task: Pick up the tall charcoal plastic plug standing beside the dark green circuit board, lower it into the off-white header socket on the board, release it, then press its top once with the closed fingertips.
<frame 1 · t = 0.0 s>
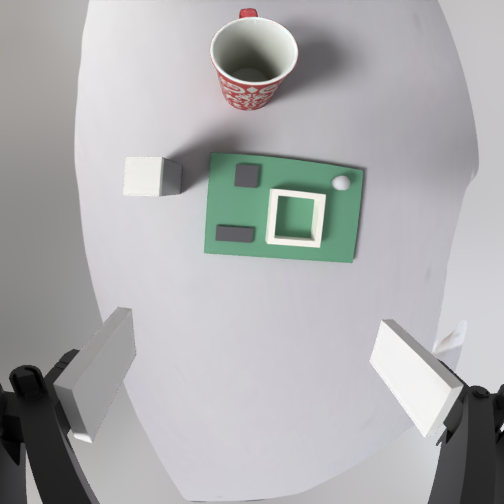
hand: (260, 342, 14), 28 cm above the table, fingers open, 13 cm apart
mug: (247, 79, 36), on the table
plug: (167, 179, 38), on the table
board: (285, 208, 40), on the table
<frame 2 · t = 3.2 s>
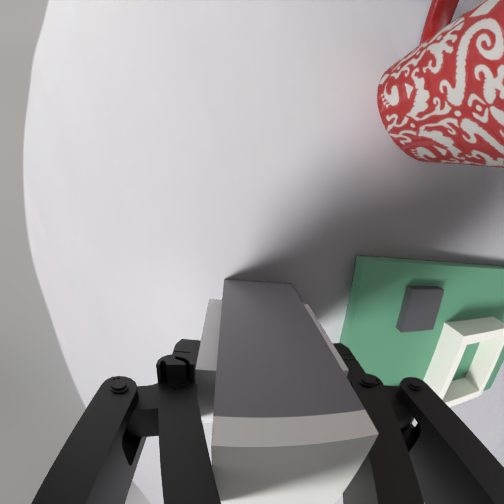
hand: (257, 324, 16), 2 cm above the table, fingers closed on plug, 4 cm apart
mug: (415, 91, 15), on the table
plug: (255, 312, 17), on the table, touching gripper
board: (447, 342, 19), on the table
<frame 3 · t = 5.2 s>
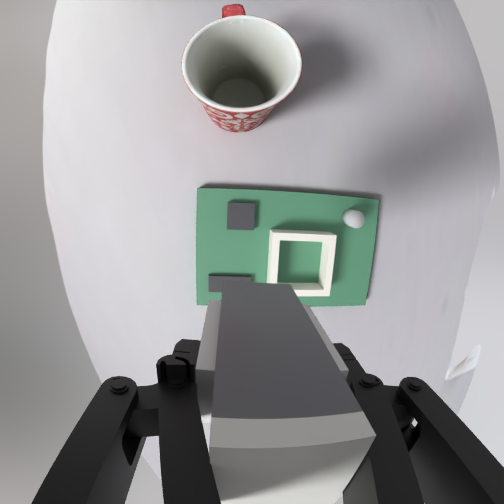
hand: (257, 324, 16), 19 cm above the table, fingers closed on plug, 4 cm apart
mug: (237, 92, 30), on the table
plug: (254, 313, 17), point 17 cm above the table, touching gripper
board: (288, 249, 35), on the table
when the fingers open (4 cm above the table, at t = 7.6 s): plug drops 1 cm, resting on board.
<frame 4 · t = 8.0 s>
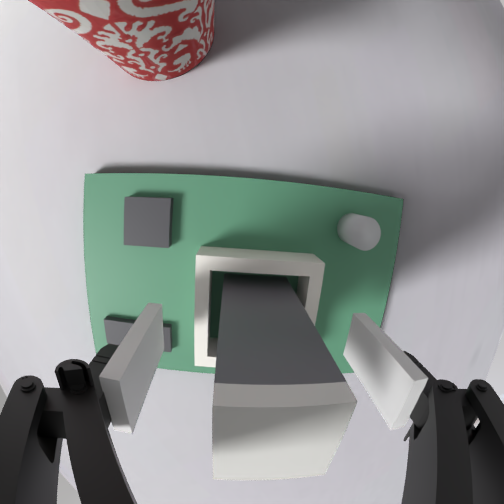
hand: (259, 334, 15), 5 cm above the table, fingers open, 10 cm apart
mug: (168, 25, 15), on the table
plug: (252, 304, 19), point 1 cm above the table, touching board
board: (239, 282, 20), on the table
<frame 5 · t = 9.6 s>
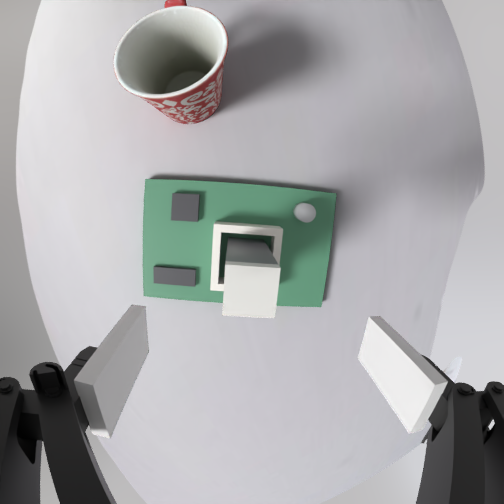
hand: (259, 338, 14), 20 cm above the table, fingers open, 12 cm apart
mug: (191, 84, 29), on the table
plug: (244, 255, 33), point 1 cm above the table, touching board
board: (236, 243, 34), on the table
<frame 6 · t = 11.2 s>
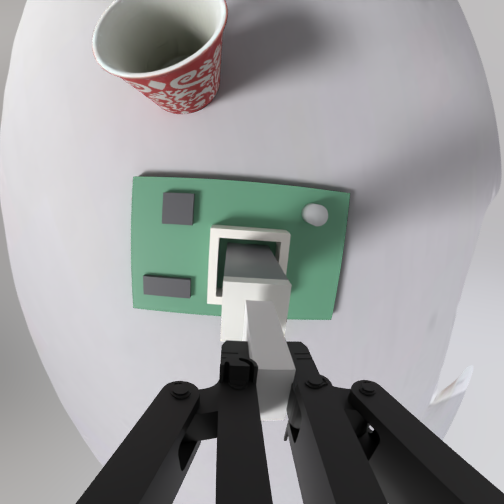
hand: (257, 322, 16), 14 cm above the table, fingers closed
mug: (186, 70, 25), on the table
plug: (246, 263, 29), point 1 cm above the table, touching board
board: (237, 249, 30), on the table
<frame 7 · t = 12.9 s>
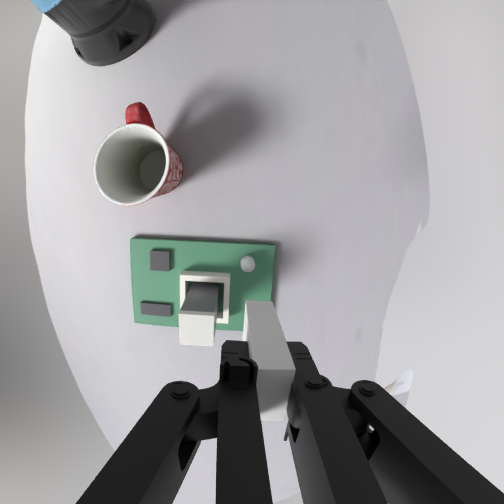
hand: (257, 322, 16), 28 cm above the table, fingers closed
mug: (160, 160, 40), on the table
plug: (205, 294, 43), point 1 cm above the table, touching board
board: (200, 285, 44), on the table
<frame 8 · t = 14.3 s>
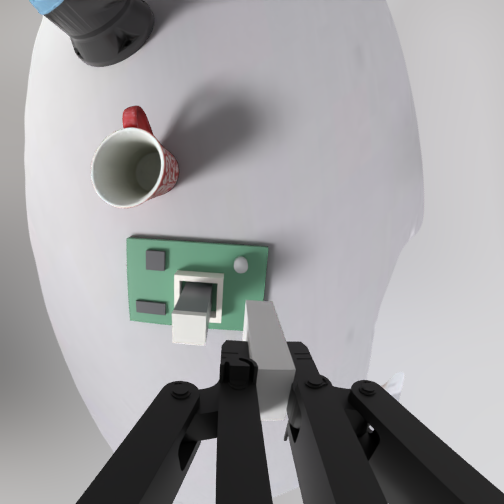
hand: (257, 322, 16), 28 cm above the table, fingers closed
mug: (156, 161, 40), on the table
plug: (199, 294, 44), point 1 cm above the table, touching board
board: (194, 284, 45), on the table
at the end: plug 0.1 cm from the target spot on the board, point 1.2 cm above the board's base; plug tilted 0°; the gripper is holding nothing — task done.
